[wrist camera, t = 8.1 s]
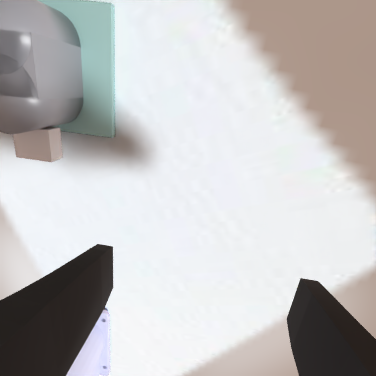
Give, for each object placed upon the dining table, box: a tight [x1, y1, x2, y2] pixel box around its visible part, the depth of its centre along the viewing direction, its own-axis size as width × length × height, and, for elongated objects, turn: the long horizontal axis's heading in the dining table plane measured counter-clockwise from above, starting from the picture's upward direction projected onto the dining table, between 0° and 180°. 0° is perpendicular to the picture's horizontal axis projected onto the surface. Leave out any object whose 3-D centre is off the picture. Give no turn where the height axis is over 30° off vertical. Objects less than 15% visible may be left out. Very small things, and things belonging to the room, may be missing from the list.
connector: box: [0, 0, 83, 162], centre depth 15 cm, size 9×4×4 cm, turn 174°
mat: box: [37, 0, 115, 138], centre depth 17 cm, size 8×8×1 cm
